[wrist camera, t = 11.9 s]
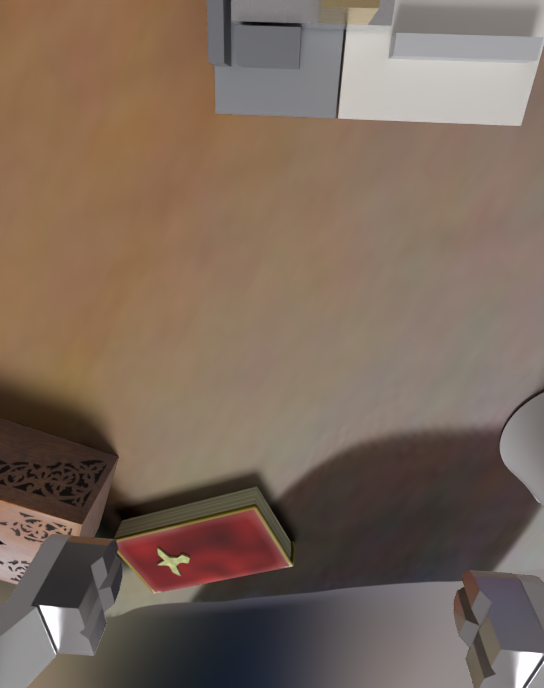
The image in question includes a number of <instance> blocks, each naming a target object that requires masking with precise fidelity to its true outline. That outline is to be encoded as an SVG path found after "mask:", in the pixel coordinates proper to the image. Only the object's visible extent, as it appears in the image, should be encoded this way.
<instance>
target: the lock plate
mask: <svg viewBox="0 0 544 688" xmlns="http://www.w3.org/2000/svg"><path fill="white" fill-rule="evenodd" d="M207 24H208V56H209V63H210V64H212V65H215V103H216V113H218V114H242V115H267V116H291V117H316V118H335V116H336V106H337V95H338V85H339V74H340V64H341V53H342V42H343V32H344V30H337V29H305V28H301V27H280V26H248V25H236V26H235V25H234V23H233V22H232V21H231V0H207ZM543 46H544V0H395V5H394V12H393V20H392V26H391V27H390V28H389V29H388V30H387V31H370V30H345V34H344V44H343V55H342V65H341V76H340V86H339V97H338V107H337V117H336V118H340V119H365V120H390V121H414V122H439V123H463V124H488V125H513V126H521V123H522V120H523V116H524V113H525V109H526V106H527V102H528V99H529V95H530V92H531V88H532V85H533V81H534V78H535V74H536V71H537V67H538V64H539V60H540V56H541V53H542V49H543Z"/></svg>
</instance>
